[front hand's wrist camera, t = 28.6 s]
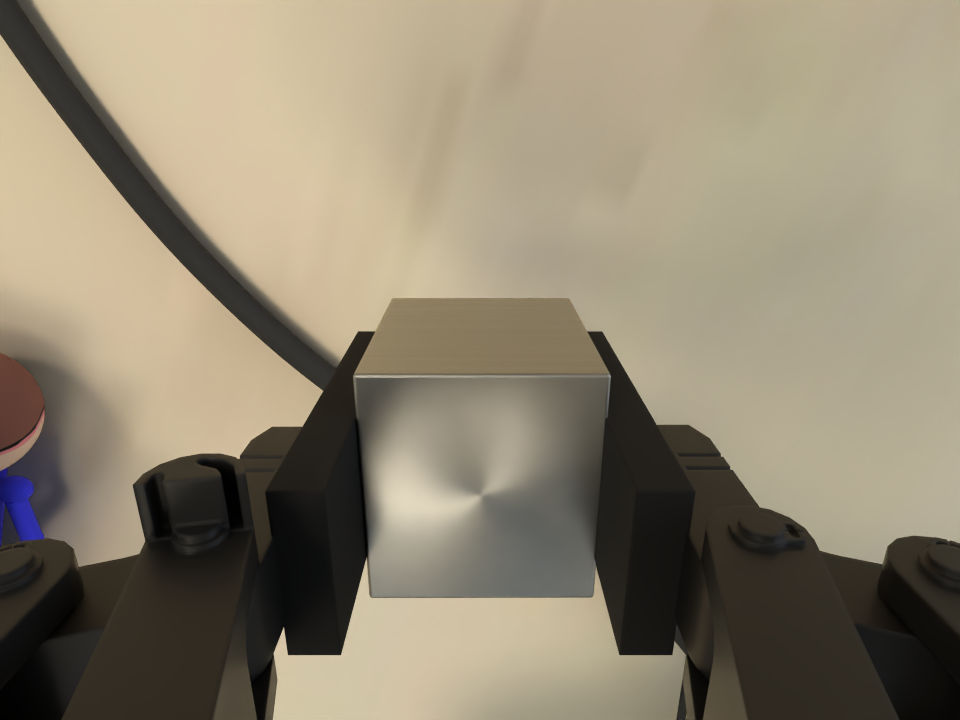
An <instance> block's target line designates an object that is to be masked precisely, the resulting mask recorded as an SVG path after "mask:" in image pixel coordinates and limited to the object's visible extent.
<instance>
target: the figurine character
mask: <svg viewBox="0 0 960 720" xmlns="http://www.w3.org/2000/svg"><path fill="white" fill-rule="evenodd" d="M44 418H45V403H44V398H43V395H42V392H41V389H40V387H39V385H38V383H37V382H36V380H35V379H34V378H33V376H32V375H31V374H30V373H29V372H28V371H27V370H26V369H25V368H24V367H23V366H22V365H20V364H19V363H18V362H16V361H15V360H13V359H11V358H10V357H8V356H6V355H4V354H1V353H0V547H1V541H2V529H3V518H4V506H5V505H6V507H7V509H8V512H9V514H10V516H11V519H12V521H13V523H14V526H15V528H16V530H17V533H18V535H19V537H20V541H25V540H38V539H44V535H43V533H42V532H41V529H40V527H39V524H38V522H37V519H36V517H35V514H34V512H33V509H32V507H31V504H30V502H29V499H28V498H29V497H30V496H31V495H32V493H33V491H34V486H33V484H32V482H31V481H30V480H29V479H27V478H25V477H22V476H8V477H7V471H8V470H7V467H9V466H10V465H12V464H13V463H15V462H16V461H18V460H19V459H20V458H21V457H23V456H24V455H25V454H26V453H27V452H28V451H29V450H30V448H31V447H32V446H33V444H34V443H35V442H36V440H37V438H38V436H39V434H40V432H41V430H42V427H43V424H44ZM20 541H19V542H20Z"/></svg>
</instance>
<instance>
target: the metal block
mask: <svg viewBox="0 0 960 720" xmlns="http://www.w3.org/2000/svg"><path fill="white" fill-rule="evenodd" d="M610 380H611V376H610V373H609V371H608V370H607V368H606V366H605V364H604V362H603V360H602V358H601V357H600V355H599V353H598V351H597V349H596V347H595V345H594V344H593V342H592V340H591V338H590V336H589V334H588V332H587V331H586V329H585V327H584V325H583V323H582V321H581V319H580V318H579V316H578V314H577V312H576V310H575V308H574V306H573V305H572V303H571V301H570V299H568V298H393V299H392V300H391V302H390V304H389V306H388V308H387V310H386V312H385V314H384V316H383V318H382V320H381V322H380V324H379V326H378V328H377V330H376V332H375V334H374V336H373V337H372V339H371V341H370V343H369V345H368V347H367V349H366V351H365V353H364V355H363V357H362V359H361V361H360V363H359V365H358V367H357V369H356V371H355V373H354V375H353V383H354V396H355V409H356V422H357V436H358V449H359V462H360V476H361V489H362V502H363V515H364V529H365V542H366V555H367V568H368V582H369V594H370V597H372V598H561V597H593V594H594V583H595V570H596V563H595V547H596V534H597V521H598V508H599V495H600V482H601V469H602V456H603V443H604V430H605V418H607V417H608V406H609V393H610Z"/></svg>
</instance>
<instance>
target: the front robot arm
mask: <svg viewBox="0 0 960 720" xmlns="http://www.w3.org/2000/svg"><path fill="white" fill-rule="evenodd" d="M0 35H1V36H2V37H3V39H4V40H5V42H6V43H7V45H8V46H9V48H10V49H11V50H12V52H13V53H14V55H15V56H16V57H17V59H18V60H19V62H20V63H21V64H22V66H23V67H24V69H25V70H26V71H27V73H28V74H29V76H30V77H31V78H32V80H33V81H34V82H35V84H36V85H37V87H38V88H39V89H40V91H41V92H42V93H43V95H44V96H45V97H46V99H47V100H48V101H49V103H50V104H51V105H52V107H53V108H54V109H55V111H56V112H57V113H58V115H59V116H60V117H61V118H62V120H63V121H64V122H65V124H66V125H67V126H68V128H69V129H70V130H71V131H72V133H73V134H74V135H75V137H76V138H77V139H78V141H79V142H80V143H81V144H82V146H83V147H84V148H85V150H86V151H87V152H88V153H89V155H90V156H91V157H92V159H93V160H94V161H95V162H96V164H97V165H98V166H99V167H100V169H101V170H102V171H103V173H104V174H105V175H106V176H107V178H108V179H109V180H110V181H111V183H112V184H113V185H114V186H115V188H116V189H117V190H118V191H119V192H120V194H121V195H122V196H123V197H124V199H125V200H126V201H127V202H128V203H129V205H130V206H131V207H132V208H133V209H134V211H135V212H136V213H137V214H138V215H139V216H140V218H141V219H142V220H143V221H144V222H145V223H146V225H147V226H148V227H149V228H150V229H151V230H152V231H153V233H154V234H155V235H156V236H157V237H158V238H159V239H160V240H161V242H162V243H163V244H164V245H165V246H166V247H167V248H168V249H169V250H170V251H171V252H172V253H173V255H174V256H175V257H176V258H177V259H178V260H179V261H180V262H181V263H182V264H183V265H184V266H185V267H186V268H187V269H188V270H189V271H190V272H191V273H192V274H193V275H194V276H195V277H196V278H197V279H198V280H199V281H200V282H201V283H202V284H203V285H204V286H205V287H206V289H207V290H209V291H210V292H211V293H212V294H213V295H214V296H215V297H216V298H217V299H218V300H219V301H220V302H221V303H222V304H223V305H224V306H225V307H226V308H227V309H228V310H229V311H230V312H231V313H232V314H233V315H235V316H236V317H237V318H238V319H239V320H240V321H241V322H242V323H243V324H244V325H245V326H246V327H247V328H249V329H250V330H251V331H252V332H253V333H254V334H255V335H256V336H257V337H258V338H260V339H261V340H262V341H263V342H264V343H265V344H266V345H267V346H269V347H270V348H271V349H272V350H273V351H274V352H276V353H277V354H278V355H279V356H280V357H281V358H283V359H284V360H285V361H286V362H288V363H289V364H290V365H291V366H292V367H294V368H295V369H296V370H297V371H299V372H300V373H301V374H302V375H304V376H305V377H306V378H307V379H309V380H310V381H311V382H313V383H314V384H315V385H317V386H318V387H319V388H321V389H322V390H323V393H322V395H321V396H320V398H319V400H318V401H317V403H316V405H315V407H314V408H313V410H312V412H311V413H310V415H309V417H308V419H307V420H306V422H305V424H304V425H303V427H271V428H270V429H268V430H267V431H265V432H263V433H262V434H260V435H259V436H257V437H256V438H254V439H253V440H251V441H250V443H249V444H248V446H247V447H246V448H245V450H244V451H243V453H242V454H241V455H240V459H237V458H236V457H232V456H228V455H224V454H197V455H191V456H186V457H180V458H177V459H174V460H172V461H169V462H166V463H163V464H160V465H158V466H157V467H155V468H153V469H151V470H150V471H148V472H146V473H144V474H143V475H142V476H141V477H140V478H139V479H138V480H137V481H136V482H135V483H134V484H133V489H134V493H135V497H136V502H137V506H138V511H139V515H140V519H141V524H142V528H143V532H144V537H145V543H144V545H143V548H142V550H141V552H140V554H138V555H134V556H130V557H126V558H122V559H117V560H112V561H107V562H102V563H97V564H92V565H87V566H82V567H78V563H77V560H76V556H75V553H74V549H73V548H72V547H70V546H69V545H68V544H67V543H66V542H64V541H59V540H53V539H38V540H25V541H20V542H15V543H14V544H8V545H5V546H2V547H0V720H273V712H274V704H275V695H276V687H277V674H276V667H275V660H274V654H273V653H274V650H275V648H276V645H277V643H278V640H279V638H280V635H281V632H282V630H283V627H284V630H285V637H286V644H287V651H288V655H341V653H342V649H343V645H344V641H345V637H346V634H347V630H348V626H349V622H350V618H351V614H352V611H353V607H354V603H355V599H356V595H357V591H358V588H359V584H360V580H361V576H362V572H363V568H364V565H365V561H366V557H367V555H366V542H365V529H364V515H363V502H362V489H361V476H360V462H359V449H358V436H357V422H356V409H355V396H354V383H353V375H354V373H355V371H356V369H357V367H358V365H359V363H360V361H361V359H362V357H363V355H364V353H365V351H366V349H367V347H368V345H369V343H370V341H371V339H372V337H373V336H374V334H375V332H358V333H357V335H356V336H355V338H354V340H353V341H352V343H351V345H350V347H349V348H348V350H347V352H346V353H345V355H344V357H343V359H342V360H341V362H340V364H339V365H338V367H337V369H336V368H334V367H333V366H332V365H330V364H329V363H328V362H327V361H325V360H324V359H323V358H321V357H320V356H319V355H318V354H317V353H315V352H314V351H313V350H312V349H310V348H309V347H308V346H307V345H306V344H304V343H303V342H302V341H301V340H300V339H299V338H297V337H296V336H295V335H294V334H293V333H292V332H291V331H289V330H288V329H287V328H286V327H285V326H284V325H283V324H282V323H280V322H279V321H278V320H277V319H276V318H275V317H274V316H273V315H272V314H271V313H269V312H268V311H267V310H266V309H265V308H264V307H263V306H262V305H261V304H260V303H259V302H258V301H257V300H256V299H255V298H254V297H253V296H252V295H251V294H250V293H248V292H247V291H246V290H245V289H244V288H243V287H242V286H241V285H240V284H239V283H238V282H237V281H236V280H235V279H234V278H233V277H232V276H231V275H230V274H229V273H228V272H227V271H226V270H225V269H224V268H223V267H222V266H221V265H220V264H219V263H218V261H217V260H216V259H215V258H214V257H213V256H212V255H211V254H210V253H209V252H208V251H207V250H206V249H205V248H204V247H203V246H202V245H201V244H200V242H199V241H198V240H197V239H196V238H195V237H194V236H193V235H192V234H191V233H190V231H189V230H188V229H187V228H186V227H185V226H184V225H183V224H182V222H181V221H180V220H179V219H178V218H177V217H176V216H175V214H174V213H173V212H172V211H171V210H170V208H169V207H168V206H167V205H166V204H165V203H164V201H163V200H162V199H161V198H160V196H159V195H158V194H157V193H156V192H155V190H154V189H153V188H152V187H151V185H150V184H149V183H148V182H147V180H146V179H145V178H144V177H143V175H142V174H141V173H140V172H139V170H138V169H137V168H136V166H135V165H134V164H133V163H132V161H131V160H130V159H129V157H128V156H127V155H126V154H125V152H124V151H123V150H122V148H121V147H120V146H119V144H118V143H117V142H116V140H115V139H114V138H113V136H112V135H111V134H110V133H109V131H108V130H107V129H106V127H105V126H104V125H103V123H102V122H101V121H100V119H99V118H98V117H97V115H96V114H95V113H94V111H93V110H92V109H91V107H90V106H89V105H88V103H87V102H86V100H85V99H84V98H83V96H82V95H81V94H80V92H79V91H78V90H77V88H76V87H75V86H74V84H73V83H72V81H71V80H70V79H69V77H68V76H67V74H66V73H65V72H64V70H63V69H62V67H61V66H60V65H59V63H58V62H57V60H56V59H55V58H54V56H53V55H52V53H51V52H50V50H49V49H48V47H47V46H46V45H45V43H44V42H43V40H42V39H41V37H40V36H39V34H38V33H37V31H36V30H35V28H34V27H33V25H32V24H31V22H30V21H29V19H28V18H27V16H26V15H25V13H24V12H23V10H22V9H21V7H20V6H19V4H18V3H17V1H16V0H0ZM588 334H589V336H590V338H591V340H592V342H593V344H594V345H595V347H596V349H597V351H598V353H599V355H600V357H601V358H602V360H603V362H604V364H605V366H606V368H607V370H608V371H609V373H610V376H611V380H610V393H609V406H608V417H607V418H605V430H604V443H603V456H602V469H601V482H600V495H599V508H598V521H597V534H596V547H595V563H596V567H597V571H598V575H599V578H600V582H601V586H602V590H603V594H604V598H605V601H606V605H607V609H608V613H609V617H610V620H611V624H612V628H613V632H614V636H615V640H616V643H617V647H618V651H619V655H672V654H673V647H674V641H675V642H676V643H677V644H678V645H679V647H680V648H681V649H682V650H683V652H684V653H685V654H686V660H685V667H684V674H683V680H682V687H681V693H680V700H679V706H678V713H677V720H685V718H686V713H687V719H688V720H960V543H956V542H953V541H947V540H946V539H941V538H934V537H922V536H909V537H904V538H898V539H896V540H895V541H894V542H892V543H891V544H890V545H889V546H888V547H887V551H886V555H885V558H884V562H883V564H878V563H873V562H868V561H862V560H857V559H852V558H847V557H842V556H837V555H833V554H829V553H826V552H822V551H819V549H818V547H817V544H816V542H815V540H814V539H813V538H812V537H811V535H810V534H809V533H808V531H807V530H806V529H805V528H804V527H802V526H801V525H799V524H798V523H797V522H795V521H794V520H792V519H791V518H789V517H787V516H784V515H782V514H779V513H777V512H774V511H772V510H769V509H765V508H760V507H759V506H758V504H757V503H756V502H755V500H754V499H753V498H752V496H751V495H750V493H749V492H748V491H747V489H746V488H745V487H744V485H743V484H742V482H741V481H740V480H739V478H738V477H737V476H736V474H735V473H734V471H733V470H730V466H729V465H728V463H727V462H726V460H725V459H724V458H723V457H721V454H720V452H719V451H718V449H717V448H716V447H715V445H714V444H713V443H712V441H711V440H710V438H708V437H707V436H705V435H704V434H702V433H700V432H699V431H697V430H696V429H694V428H693V427H691V426H689V425H656V423H655V421H654V420H653V418H652V416H651V414H650V413H649V411H648V409H647V408H646V406H645V404H644V402H643V401H642V399H641V397H640V396H639V394H638V392H637V390H636V389H635V387H634V385H633V384H632V382H631V380H630V378H629V377H628V375H627V373H626V372H625V370H624V368H623V366H622V365H621V363H620V361H619V360H618V358H617V356H616V354H615V353H614V351H613V349H612V348H611V346H610V344H609V342H608V341H607V339H606V337H605V336H604V334H603V332H588Z"/></svg>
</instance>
